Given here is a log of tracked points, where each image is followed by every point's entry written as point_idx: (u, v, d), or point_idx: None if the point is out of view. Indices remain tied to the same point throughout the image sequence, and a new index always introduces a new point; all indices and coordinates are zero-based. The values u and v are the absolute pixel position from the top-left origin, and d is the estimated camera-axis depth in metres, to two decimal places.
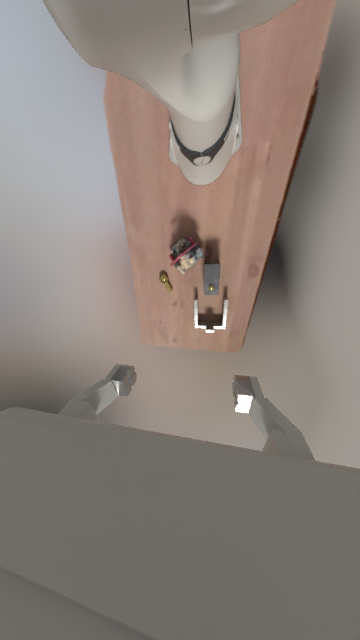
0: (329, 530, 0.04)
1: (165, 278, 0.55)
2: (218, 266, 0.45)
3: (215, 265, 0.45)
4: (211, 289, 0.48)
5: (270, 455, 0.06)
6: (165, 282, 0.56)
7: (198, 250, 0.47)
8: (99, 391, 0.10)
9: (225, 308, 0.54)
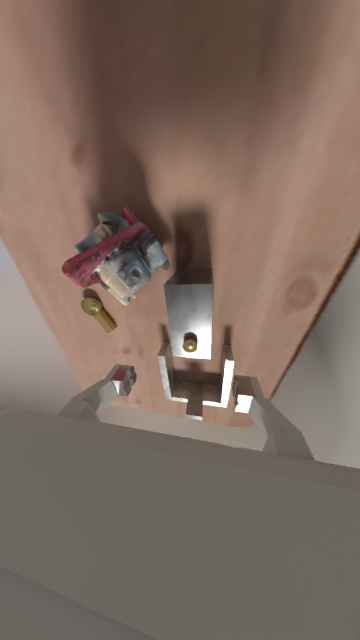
0: (329, 530, 0.04)
1: (93, 306, 0.25)
2: (207, 291, 0.14)
3: (198, 288, 0.14)
4: (189, 348, 0.18)
5: (270, 455, 0.06)
6: (96, 314, 0.26)
7: (152, 249, 0.16)
8: (99, 391, 0.10)
9: (227, 375, 0.24)
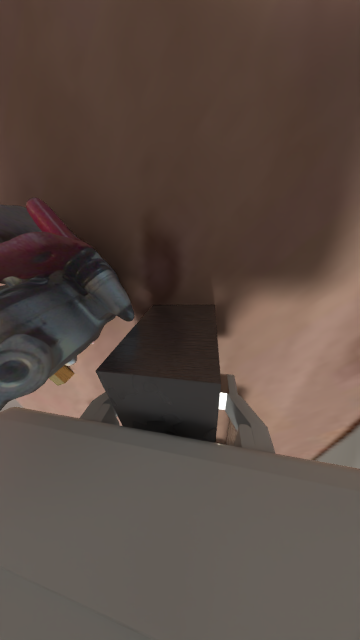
0: (329, 530, 0.04)
1: None
2: (205, 395, 0.05)
3: (180, 386, 0.05)
4: None
5: (270, 455, 0.06)
6: None
7: (95, 287, 0.08)
8: None
9: None
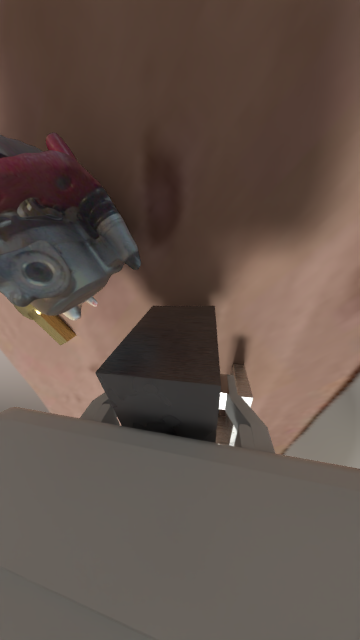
0: (329, 530, 0.04)
1: (31, 306, 0.16)
2: (205, 397, 0.05)
3: (180, 388, 0.05)
4: None
5: (270, 455, 0.06)
6: (37, 318, 0.17)
7: (107, 227, 0.09)
8: None
9: None
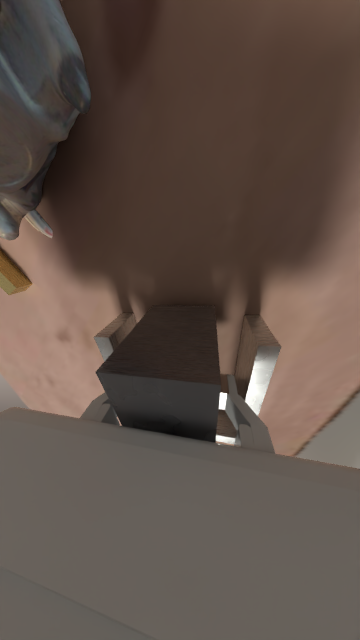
0: (329, 530, 0.04)
1: None
2: (205, 396, 0.05)
3: (180, 387, 0.05)
4: None
5: (270, 455, 0.06)
6: None
7: None
8: None
9: (257, 384, 0.10)
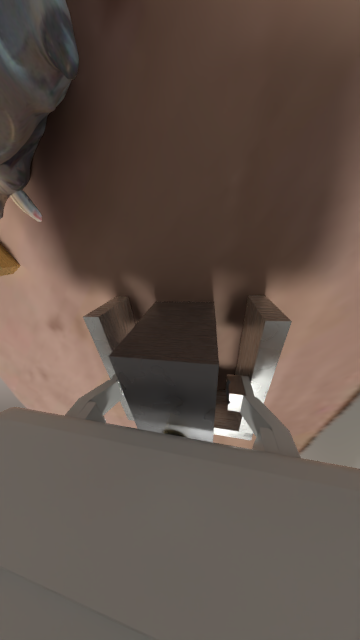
0: (329, 530, 0.04)
1: None
2: (205, 376, 0.06)
3: (183, 368, 0.06)
4: None
5: (270, 455, 0.06)
6: None
7: None
8: (105, 392, 0.10)
9: (263, 368, 0.09)
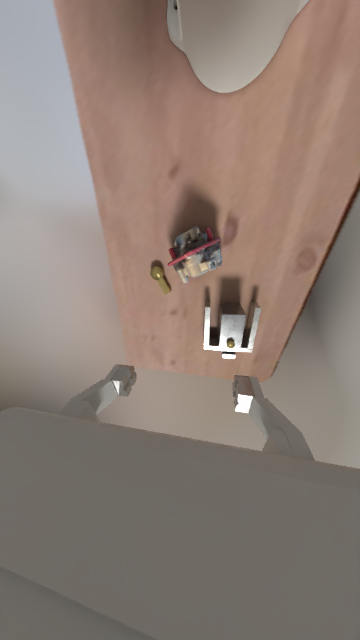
0: (329, 530, 0.04)
1: (160, 272, 0.35)
2: (243, 318, 0.31)
3: (238, 316, 0.31)
4: (230, 345, 0.34)
5: (270, 455, 0.06)
6: (160, 279, 0.36)
7: (216, 252, 0.29)
8: (99, 391, 0.10)
9: (255, 321, 0.34)
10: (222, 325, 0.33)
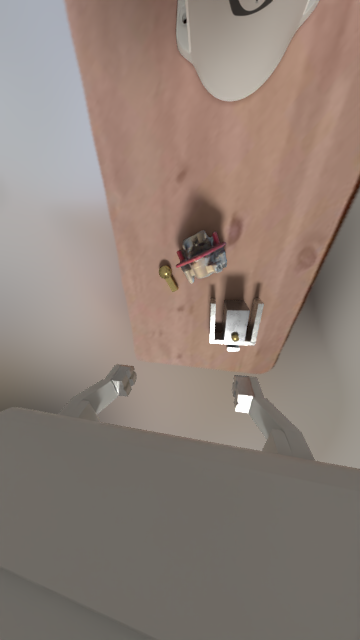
0: (329, 530, 0.04)
1: (167, 271, 0.37)
2: (246, 313, 0.33)
3: (242, 312, 0.33)
4: (234, 339, 0.36)
5: (270, 455, 0.06)
6: (167, 277, 0.38)
7: (222, 255, 0.31)
8: (99, 391, 0.10)
9: (258, 316, 0.36)
10: (227, 320, 0.35)
